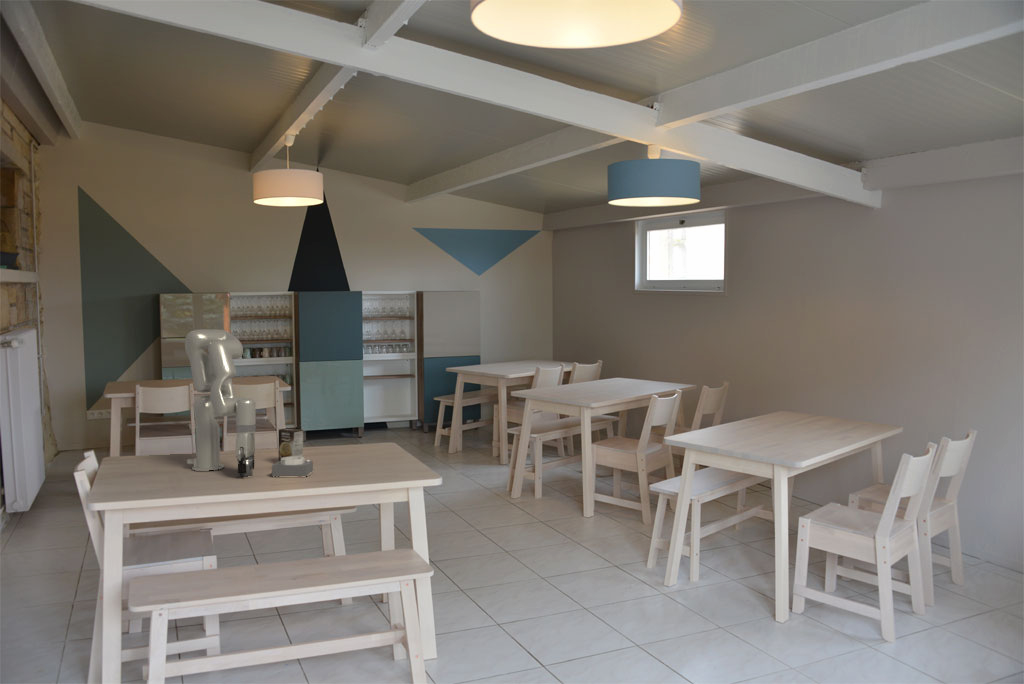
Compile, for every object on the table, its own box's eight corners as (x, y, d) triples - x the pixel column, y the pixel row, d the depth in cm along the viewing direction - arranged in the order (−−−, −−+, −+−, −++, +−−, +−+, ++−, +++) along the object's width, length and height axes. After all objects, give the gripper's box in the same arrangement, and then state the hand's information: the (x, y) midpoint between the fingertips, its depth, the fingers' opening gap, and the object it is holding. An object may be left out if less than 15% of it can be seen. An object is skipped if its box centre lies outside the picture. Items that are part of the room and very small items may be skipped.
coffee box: (277, 465, 335) (277, 429, 334) (288, 463, 341) (288, 427, 340) (293, 467, 331) (293, 430, 330) (303, 465, 336) (303, 429, 336)
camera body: (272, 477, 310) (272, 460, 309) (279, 472, 320) (279, 456, 319) (306, 477, 310) (306, 460, 309) (312, 472, 320) (312, 456, 319)
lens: (237, 478, 308) (237, 458, 308) (241, 475, 313) (241, 455, 313) (250, 478, 308) (250, 458, 308) (254, 475, 313) (254, 455, 313)
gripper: (244, 426, 319) (244, 467, 319) (228, 431, 301) (229, 475, 302) (262, 426, 319) (262, 467, 319) (247, 432, 301) (248, 475, 302)
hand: (246, 471), depth 310 cm, fingers open, 8 cm apart
